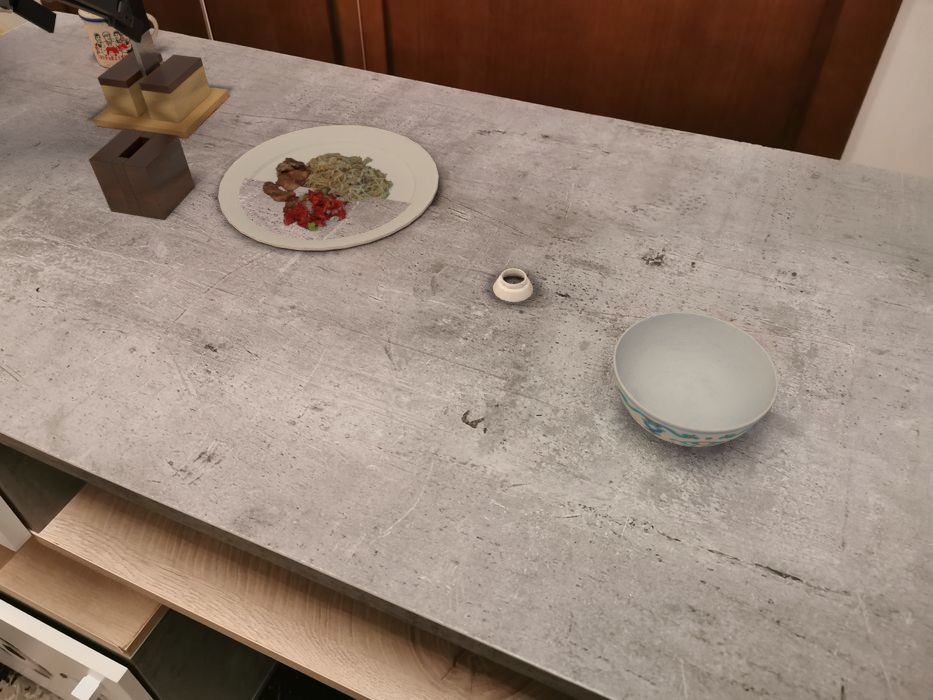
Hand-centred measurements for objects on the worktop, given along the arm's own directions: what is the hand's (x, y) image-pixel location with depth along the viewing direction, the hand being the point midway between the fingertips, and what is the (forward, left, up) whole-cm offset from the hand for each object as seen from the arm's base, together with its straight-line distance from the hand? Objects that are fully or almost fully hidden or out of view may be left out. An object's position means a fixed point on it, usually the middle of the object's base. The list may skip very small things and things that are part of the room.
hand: (96, 28), depth 100 cm
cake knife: (0, +8, -15) cm, 17 cm away
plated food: (+35, -7, -17) cm, 39 cm away
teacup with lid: (-16, +24, -17) cm, 33 cm away
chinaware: (+84, -36, -17) cm, 93 cm away
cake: (0, +8, -16) cm, 18 cm away
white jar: (+64, -22, -17) cm, 70 cm away
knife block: (+13, -16, -16) cm, 26 cm away
